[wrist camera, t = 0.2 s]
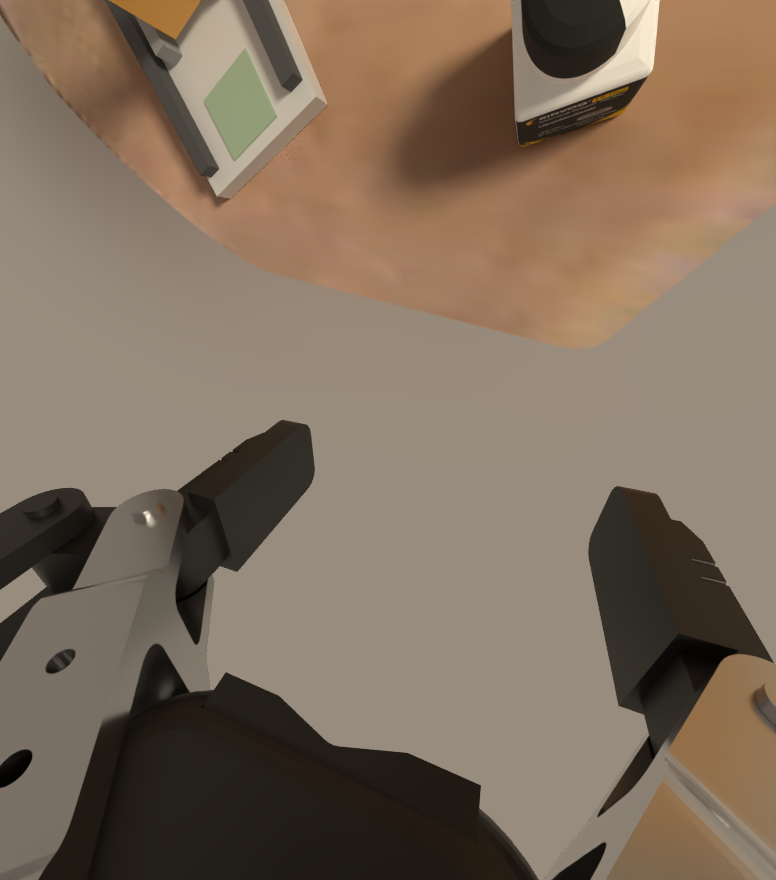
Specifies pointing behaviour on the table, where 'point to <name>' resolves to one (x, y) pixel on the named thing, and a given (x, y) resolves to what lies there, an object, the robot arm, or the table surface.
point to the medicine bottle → (578, 61)
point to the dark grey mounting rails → (168, 91)
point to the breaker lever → (161, 13)
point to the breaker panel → (237, 87)
